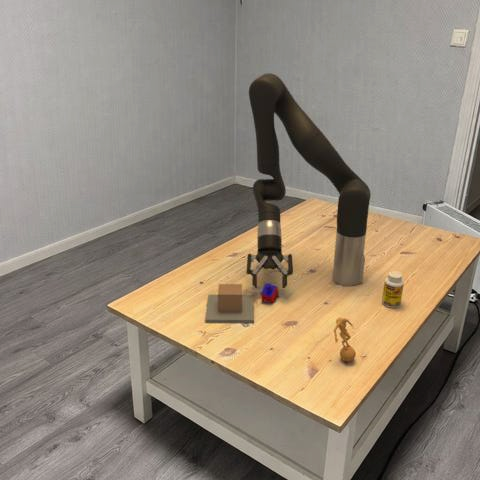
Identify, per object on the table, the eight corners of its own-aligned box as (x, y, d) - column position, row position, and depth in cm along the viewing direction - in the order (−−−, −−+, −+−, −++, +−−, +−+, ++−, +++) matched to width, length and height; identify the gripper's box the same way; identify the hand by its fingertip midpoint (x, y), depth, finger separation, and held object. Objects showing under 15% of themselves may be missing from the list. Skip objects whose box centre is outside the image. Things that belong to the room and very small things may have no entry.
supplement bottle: (381, 306, 160) (385, 277, 156) (382, 297, 165) (386, 268, 161) (400, 309, 159) (404, 280, 154) (400, 300, 163) (405, 271, 159)
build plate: (253, 297, 165) (253, 277, 162) (254, 322, 152) (254, 302, 149) (208, 297, 165) (207, 277, 162) (205, 322, 152) (204, 301, 149)
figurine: (345, 371, 133) (349, 331, 128) (324, 361, 137) (328, 321, 131) (362, 355, 138) (366, 317, 133) (342, 346, 142) (346, 308, 137)
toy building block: (263, 303, 165) (258, 288, 159) (268, 292, 167) (264, 277, 161) (274, 306, 163) (269, 291, 157) (278, 295, 166) (275, 280, 160)
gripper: (246, 233, 163) (246, 284, 157) (293, 233, 163) (294, 284, 157) (246, 241, 170) (246, 290, 164) (291, 241, 170) (292, 290, 164)
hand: (269, 287), depth 161 cm, fingers open, 8 cm apart
